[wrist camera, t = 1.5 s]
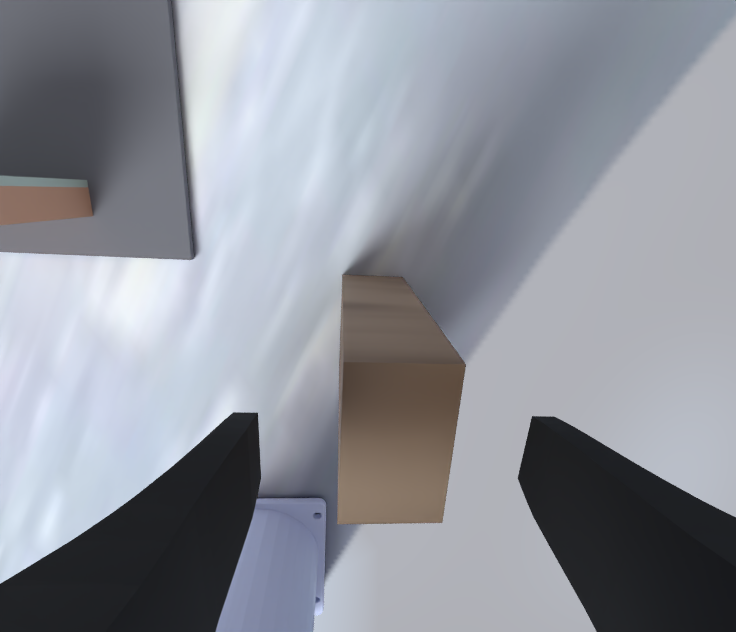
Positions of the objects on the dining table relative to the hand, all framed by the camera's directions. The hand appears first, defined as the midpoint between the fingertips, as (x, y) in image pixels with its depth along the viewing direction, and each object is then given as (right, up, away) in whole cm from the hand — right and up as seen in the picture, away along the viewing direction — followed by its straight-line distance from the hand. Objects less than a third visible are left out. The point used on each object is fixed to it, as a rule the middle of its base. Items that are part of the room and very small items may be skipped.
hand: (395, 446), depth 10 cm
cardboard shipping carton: (-1, +3, +9) cm, 10 cm away
